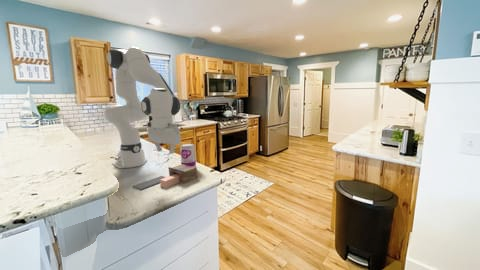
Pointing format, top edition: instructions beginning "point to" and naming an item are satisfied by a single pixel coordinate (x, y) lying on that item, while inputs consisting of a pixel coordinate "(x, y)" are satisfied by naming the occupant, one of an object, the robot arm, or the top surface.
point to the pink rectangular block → (170, 180)
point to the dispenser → (184, 172)
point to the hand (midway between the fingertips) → (165, 152)
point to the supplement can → (188, 155)
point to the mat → (148, 183)
